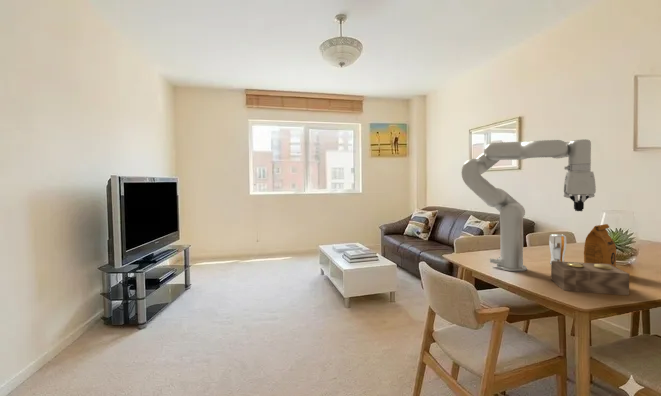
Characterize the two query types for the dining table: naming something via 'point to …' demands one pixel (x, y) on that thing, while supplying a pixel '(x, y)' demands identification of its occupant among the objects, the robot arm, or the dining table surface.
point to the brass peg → (575, 265)
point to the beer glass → (557, 247)
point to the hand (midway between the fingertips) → (578, 210)
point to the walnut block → (590, 278)
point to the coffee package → (600, 247)
